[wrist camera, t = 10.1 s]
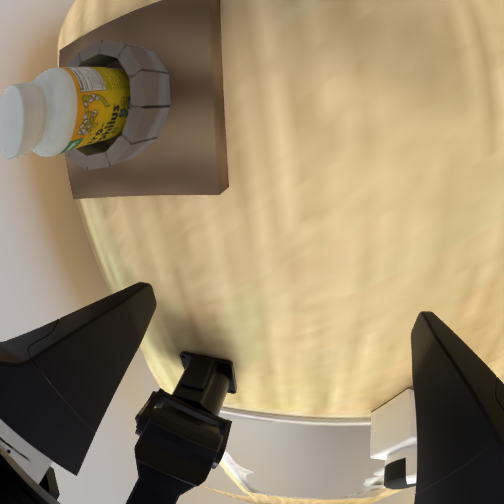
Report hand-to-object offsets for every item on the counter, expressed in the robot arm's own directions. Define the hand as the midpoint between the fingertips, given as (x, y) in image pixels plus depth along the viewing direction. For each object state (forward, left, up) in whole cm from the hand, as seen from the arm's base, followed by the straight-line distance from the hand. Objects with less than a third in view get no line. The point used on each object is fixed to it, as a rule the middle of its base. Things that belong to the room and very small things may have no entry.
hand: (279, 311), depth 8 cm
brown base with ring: (+8, +13, -12) cm, 19 cm away
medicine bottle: (-26, -16, -12) cm, 33 cm away
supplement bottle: (+8, +13, -10) cm, 18 cm away
